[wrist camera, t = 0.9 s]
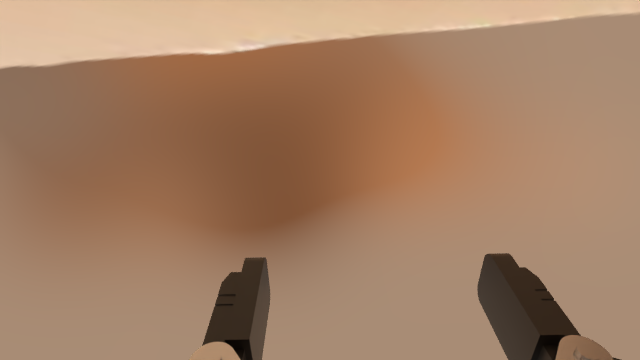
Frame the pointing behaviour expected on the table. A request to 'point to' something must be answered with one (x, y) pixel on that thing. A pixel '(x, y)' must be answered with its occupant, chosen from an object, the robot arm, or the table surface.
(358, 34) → the table surface
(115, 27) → the table surface
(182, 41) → the table surface
